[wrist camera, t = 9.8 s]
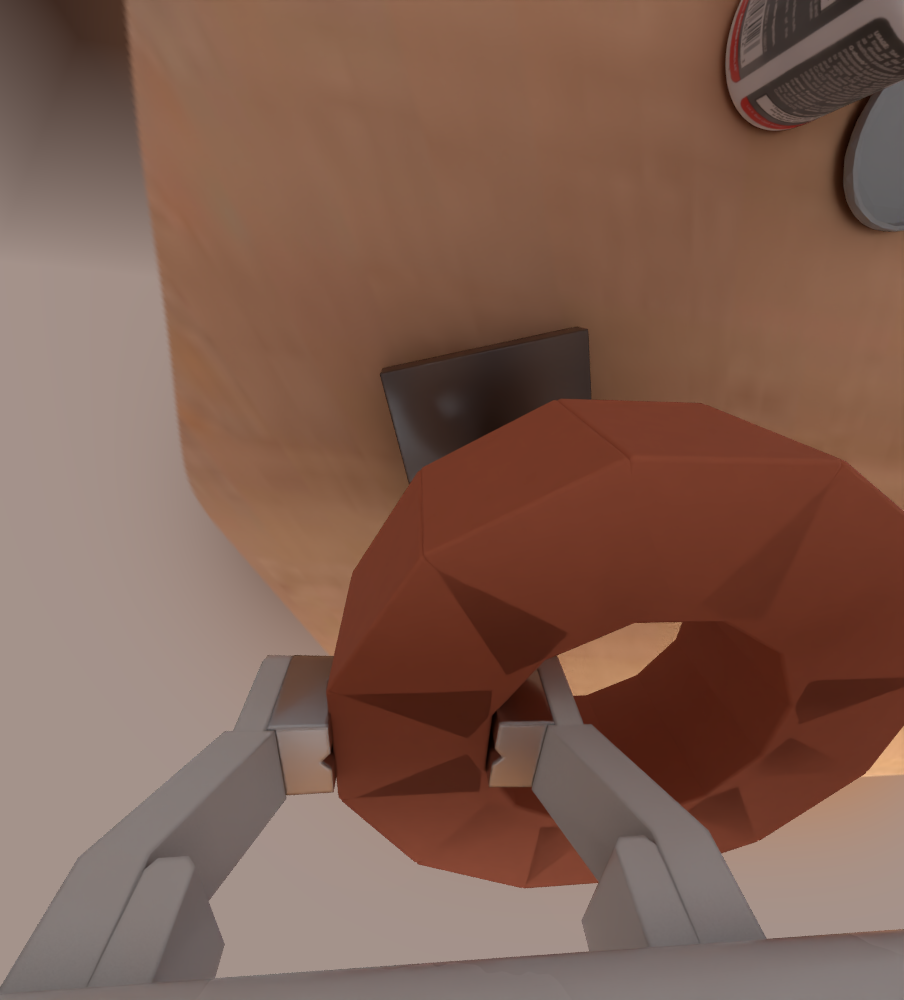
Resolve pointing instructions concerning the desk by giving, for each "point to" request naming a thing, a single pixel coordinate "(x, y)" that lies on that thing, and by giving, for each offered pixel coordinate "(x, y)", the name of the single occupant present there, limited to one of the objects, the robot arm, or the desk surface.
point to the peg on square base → (481, 391)
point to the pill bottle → (811, 57)
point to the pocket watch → (878, 162)
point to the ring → (609, 607)
